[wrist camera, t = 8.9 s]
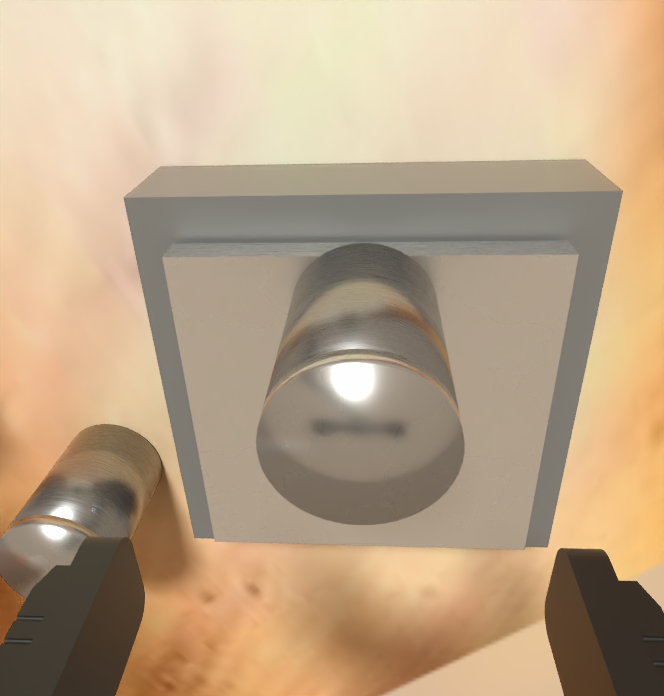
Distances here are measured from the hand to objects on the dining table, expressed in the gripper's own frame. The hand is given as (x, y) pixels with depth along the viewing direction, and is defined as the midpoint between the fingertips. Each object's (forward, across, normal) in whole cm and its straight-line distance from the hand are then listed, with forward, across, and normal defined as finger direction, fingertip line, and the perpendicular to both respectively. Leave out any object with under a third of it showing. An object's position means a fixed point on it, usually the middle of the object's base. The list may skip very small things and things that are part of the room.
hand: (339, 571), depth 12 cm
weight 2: (+10, 0, 0) cm, 10 cm away
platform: (+11, -1, +4) cm, 12 cm away
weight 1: (+16, +12, +11) cm, 23 cm away
